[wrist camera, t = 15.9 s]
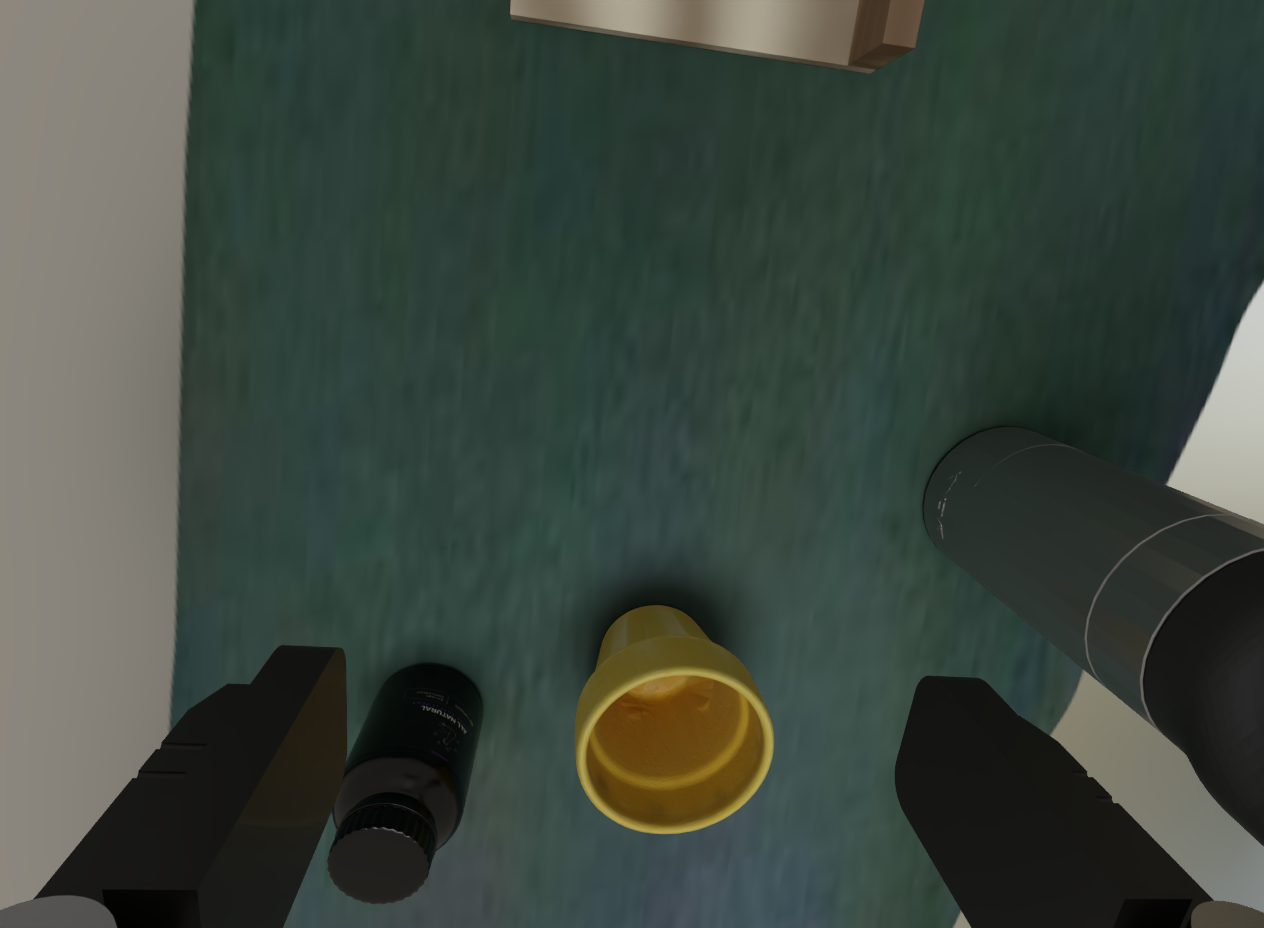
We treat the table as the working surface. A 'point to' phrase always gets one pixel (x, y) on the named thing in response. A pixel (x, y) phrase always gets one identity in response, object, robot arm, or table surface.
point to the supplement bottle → (404, 784)
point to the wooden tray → (750, 26)
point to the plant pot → (669, 726)
